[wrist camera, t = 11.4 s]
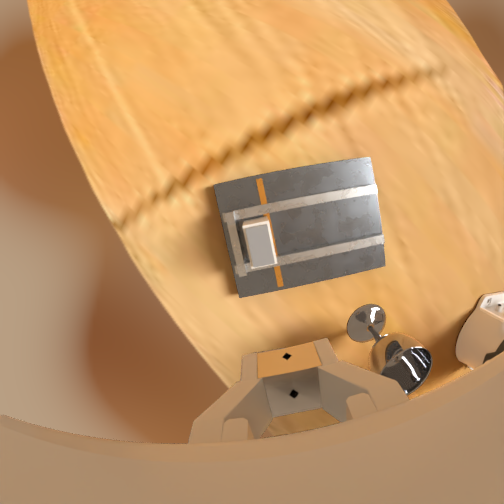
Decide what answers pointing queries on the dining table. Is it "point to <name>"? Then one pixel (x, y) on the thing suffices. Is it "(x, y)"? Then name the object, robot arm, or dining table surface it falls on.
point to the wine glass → (390, 349)
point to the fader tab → (259, 242)
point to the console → (305, 224)
